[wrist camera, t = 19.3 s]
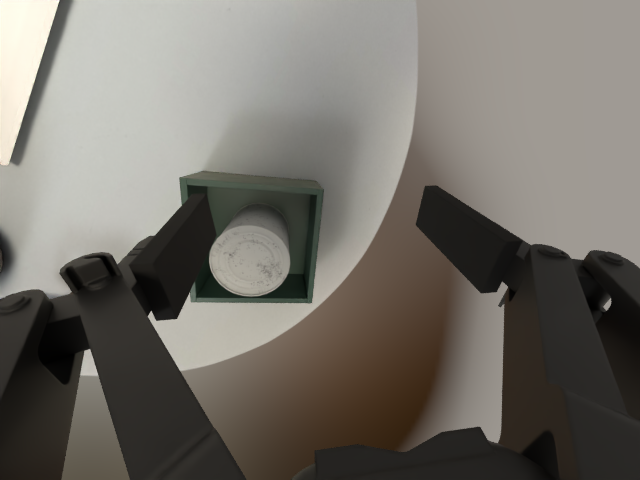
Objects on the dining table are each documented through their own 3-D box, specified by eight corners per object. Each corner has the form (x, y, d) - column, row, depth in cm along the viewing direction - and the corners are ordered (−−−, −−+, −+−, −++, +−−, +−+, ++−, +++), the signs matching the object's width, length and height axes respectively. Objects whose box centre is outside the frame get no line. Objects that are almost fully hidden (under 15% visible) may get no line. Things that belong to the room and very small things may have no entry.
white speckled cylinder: (247, 264, 43) (233, 307, 32) (219, 216, 39) (192, 244, 28) (297, 244, 43) (302, 279, 31) (274, 193, 39) (270, 212, 28)
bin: (316, 180, 40) (323, 189, 32) (307, 275, 46) (311, 303, 38) (202, 170, 37) (179, 177, 29) (208, 273, 43) (190, 302, 35)
